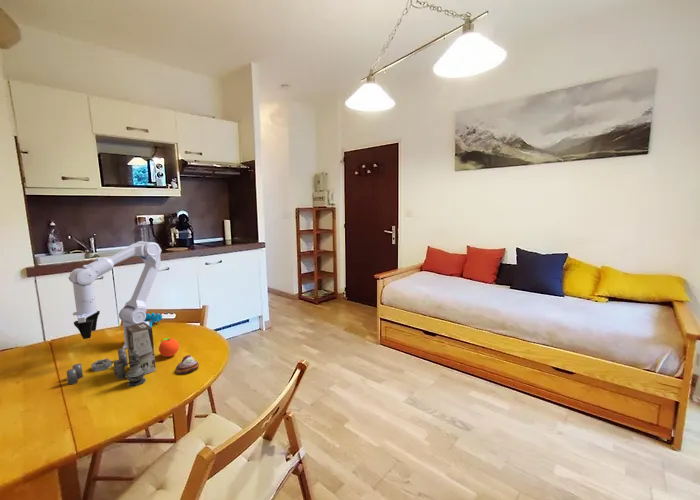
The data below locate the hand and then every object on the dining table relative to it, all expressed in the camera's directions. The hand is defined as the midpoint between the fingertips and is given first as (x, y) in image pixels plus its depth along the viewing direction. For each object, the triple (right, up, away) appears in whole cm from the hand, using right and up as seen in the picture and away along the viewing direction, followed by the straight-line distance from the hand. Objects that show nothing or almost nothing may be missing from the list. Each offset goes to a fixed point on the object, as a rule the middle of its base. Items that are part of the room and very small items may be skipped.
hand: (89, 334), depth 125 cm
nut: (+8, -11, -5) cm, 15 cm away
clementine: (+28, -10, +4) cm, 30 cm away
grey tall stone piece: (+28, -13, -15) cm, 34 cm away
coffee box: (+24, -11, -6) cm, 28 cm away
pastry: (+40, -11, -6) cm, 42 cm away
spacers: (+11, -11, -9) cm, 18 cm away
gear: (+2, -5, +34) cm, 35 cm away
